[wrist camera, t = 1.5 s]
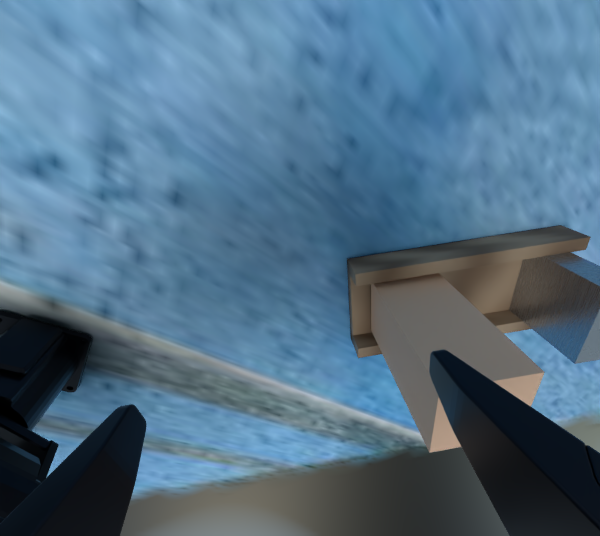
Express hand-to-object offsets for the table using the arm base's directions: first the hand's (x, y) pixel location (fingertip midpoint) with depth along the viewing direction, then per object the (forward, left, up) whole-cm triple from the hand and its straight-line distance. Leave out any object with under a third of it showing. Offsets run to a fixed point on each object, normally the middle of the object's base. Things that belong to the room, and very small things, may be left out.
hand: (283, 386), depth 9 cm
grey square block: (+5, -21, -14) cm, 25 cm away
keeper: (-1, -12, -13) cm, 17 cm away
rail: (+2, -15, -14) cm, 20 cm away
